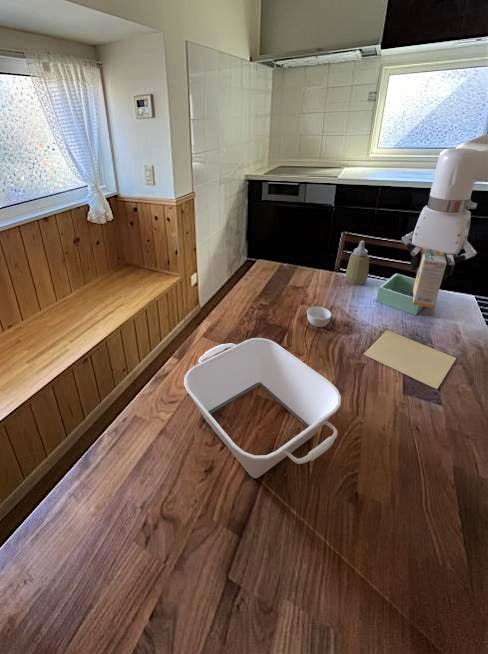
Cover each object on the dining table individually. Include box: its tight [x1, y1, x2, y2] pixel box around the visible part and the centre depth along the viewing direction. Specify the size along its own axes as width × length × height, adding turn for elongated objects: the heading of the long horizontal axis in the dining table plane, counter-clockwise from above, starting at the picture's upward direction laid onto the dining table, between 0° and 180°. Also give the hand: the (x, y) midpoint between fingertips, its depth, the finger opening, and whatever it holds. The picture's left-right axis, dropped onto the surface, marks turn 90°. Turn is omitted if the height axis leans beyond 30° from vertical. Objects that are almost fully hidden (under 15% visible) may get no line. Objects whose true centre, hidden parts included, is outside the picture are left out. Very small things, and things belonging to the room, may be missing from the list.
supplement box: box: [412, 248, 448, 309], centre depth 86 cm, size 8×5×13 cm, turn 149°
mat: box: [363, 329, 457, 390], centre depth 94 cm, size 18×16×1 cm
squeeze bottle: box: [345, 240, 370, 286], centre depth 131 cm, size 8×8×18 cm
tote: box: [375, 272, 425, 316], centre depth 119 cm, size 13×15×6 cm
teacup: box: [306, 306, 332, 328], centre depth 110 cm, size 10×10×5 cm
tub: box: [183, 337, 342, 479], centre depth 75 cm, size 34×27×13 cm
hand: (429, 272), depth 85 cm, fingers closed on supplement box, 6 cm apart
